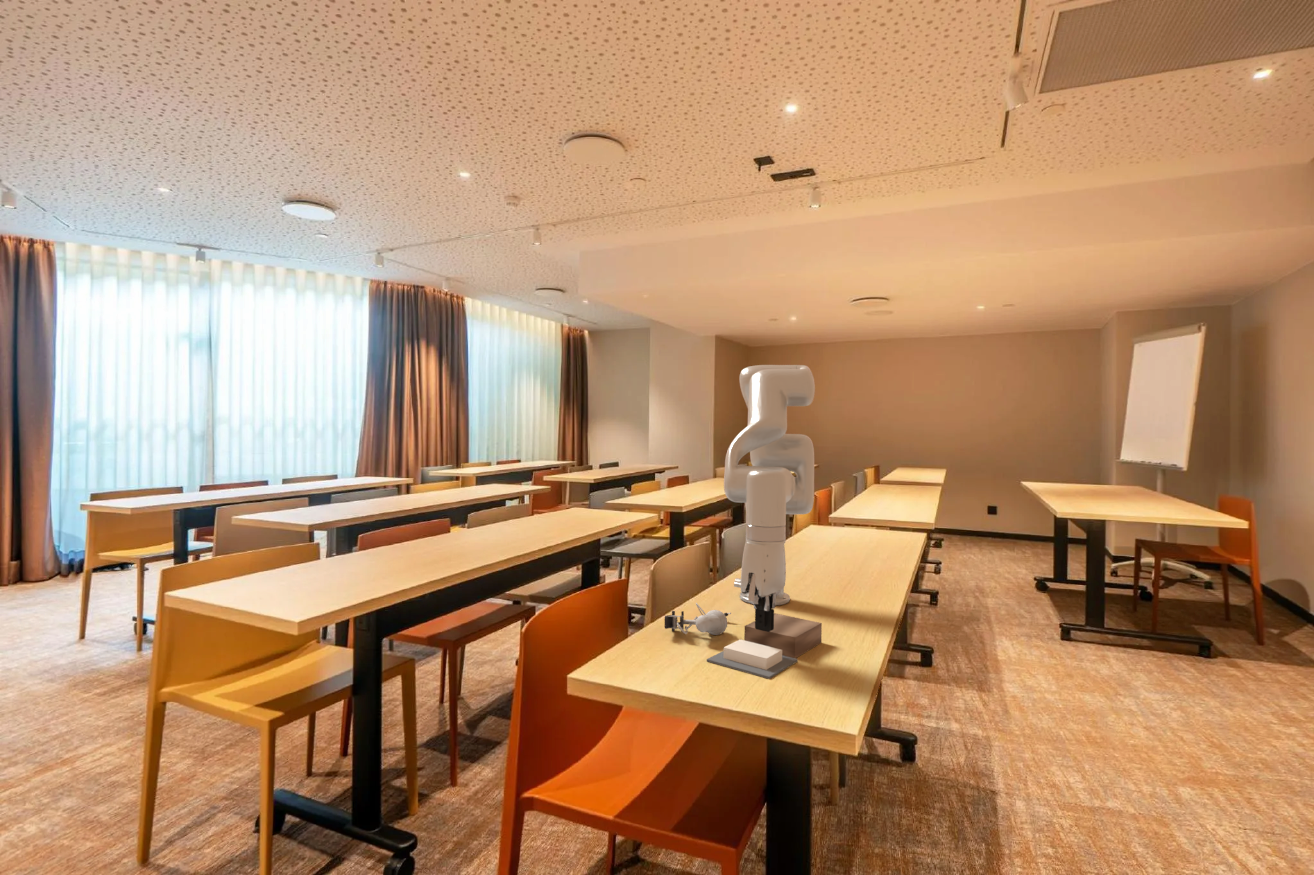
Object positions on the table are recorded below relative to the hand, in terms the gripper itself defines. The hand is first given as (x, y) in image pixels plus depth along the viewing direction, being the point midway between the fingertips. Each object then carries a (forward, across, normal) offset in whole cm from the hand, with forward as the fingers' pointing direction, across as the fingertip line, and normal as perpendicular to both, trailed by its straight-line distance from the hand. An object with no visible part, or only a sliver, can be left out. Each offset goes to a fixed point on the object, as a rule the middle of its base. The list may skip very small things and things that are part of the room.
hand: (764, 629), depth 120 cm
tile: (+3, +4, 0) cm, 5 cm away
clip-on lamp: (+5, -4, -18) cm, 19 cm away
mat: (+5, +4, 0) cm, 7 cm away
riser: (+5, -8, 0) cm, 9 cm away
